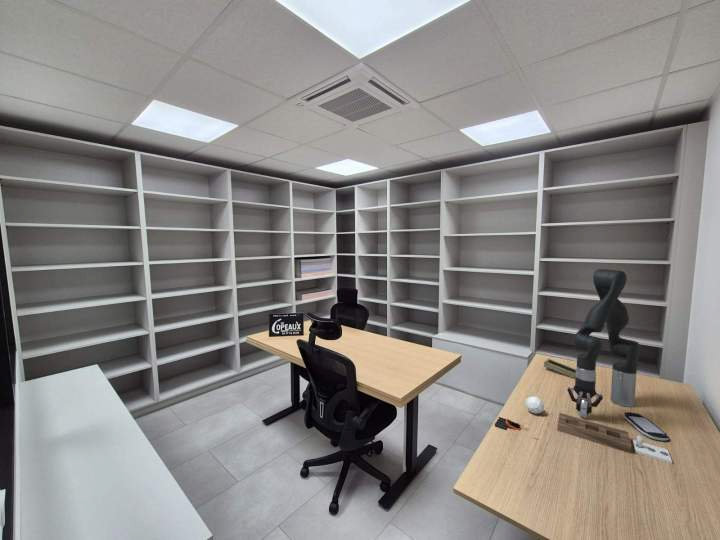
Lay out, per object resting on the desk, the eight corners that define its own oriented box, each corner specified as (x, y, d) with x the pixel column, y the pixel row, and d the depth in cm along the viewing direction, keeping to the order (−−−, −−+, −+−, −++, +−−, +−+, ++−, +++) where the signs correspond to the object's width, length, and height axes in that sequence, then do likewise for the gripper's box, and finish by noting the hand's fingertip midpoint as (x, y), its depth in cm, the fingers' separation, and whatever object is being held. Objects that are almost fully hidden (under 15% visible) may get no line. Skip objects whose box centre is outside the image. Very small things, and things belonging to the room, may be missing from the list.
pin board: (559, 418, 139) (559, 412, 139) (627, 438, 125) (628, 431, 125) (557, 430, 131) (557, 424, 130) (630, 453, 116) (631, 446, 116)
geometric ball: (532, 419, 144) (524, 408, 142) (529, 405, 151) (521, 394, 149) (549, 415, 140) (541, 404, 139) (544, 402, 147) (537, 390, 145)
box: (545, 364, 198) (547, 357, 197) (586, 381, 183) (588, 373, 181) (542, 368, 193) (543, 361, 191) (584, 385, 177) (586, 378, 176)
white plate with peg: (632, 441, 123) (633, 430, 122) (667, 451, 117) (668, 439, 116) (635, 452, 116) (636, 440, 116) (671, 463, 110) (672, 451, 110)
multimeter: (545, 431, 131) (545, 424, 131) (538, 444, 122) (538, 436, 122) (502, 415, 143) (502, 409, 143) (493, 427, 134) (493, 419, 134)
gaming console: (619, 415, 143) (619, 410, 142) (641, 417, 141) (641, 412, 140) (647, 441, 124) (648, 435, 124) (673, 444, 122) (674, 438, 122)
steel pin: (579, 412, 142) (580, 396, 141) (587, 415, 140) (588, 398, 139) (579, 416, 140) (580, 399, 139) (587, 418, 138) (588, 401, 137)
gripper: (604, 377, 137) (602, 413, 138) (567, 370, 145) (565, 404, 147) (605, 384, 131) (603, 421, 133) (566, 375, 140) (565, 410, 141)
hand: (583, 411), depth 140 cm, fingers closed on steel pin, 3 cm apart
